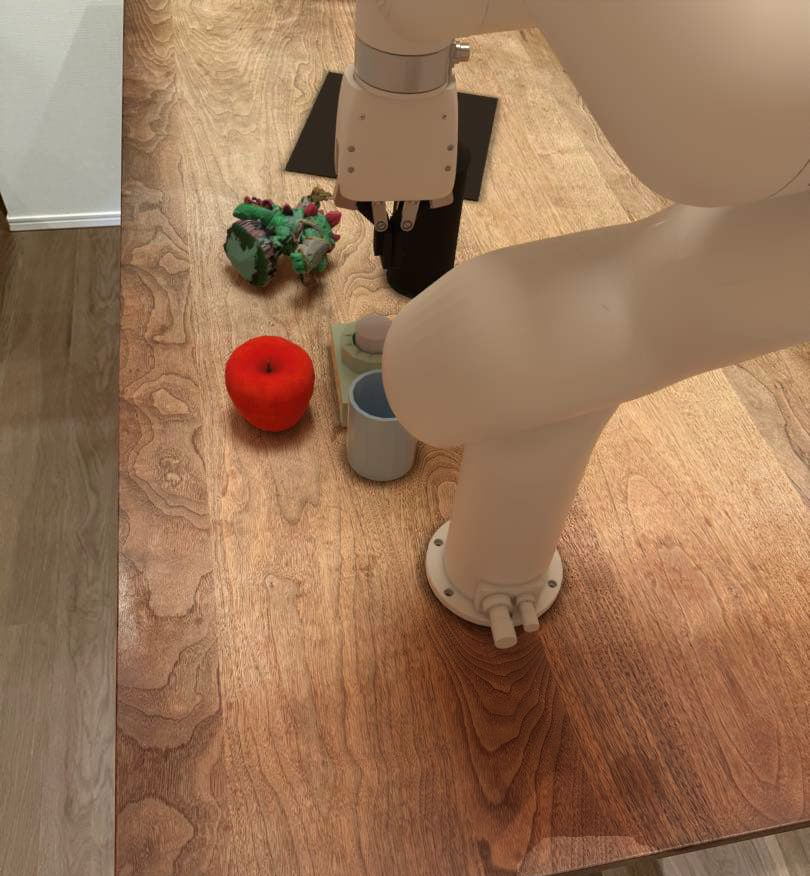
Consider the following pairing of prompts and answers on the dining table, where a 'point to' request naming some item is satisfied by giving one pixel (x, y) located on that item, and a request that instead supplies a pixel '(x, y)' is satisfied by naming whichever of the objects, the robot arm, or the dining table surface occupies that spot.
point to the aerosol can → (432, 238)
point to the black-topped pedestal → (320, 132)
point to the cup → (376, 432)
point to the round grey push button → (371, 333)
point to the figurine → (281, 237)
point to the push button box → (348, 363)
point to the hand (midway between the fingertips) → (389, 259)
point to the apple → (270, 382)
